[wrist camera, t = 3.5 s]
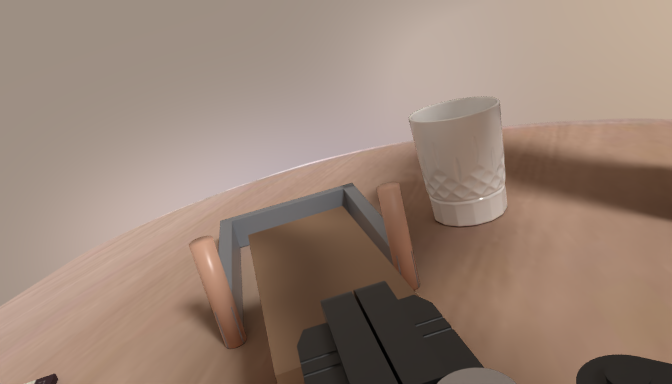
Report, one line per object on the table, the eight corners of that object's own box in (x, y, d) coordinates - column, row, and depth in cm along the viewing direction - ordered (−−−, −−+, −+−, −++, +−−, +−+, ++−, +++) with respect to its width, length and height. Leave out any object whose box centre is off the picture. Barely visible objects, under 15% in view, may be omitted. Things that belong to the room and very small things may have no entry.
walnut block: (372, 328, 34) (342, 205, 31) (473, 502, 21) (437, 318, 18) (287, 358, 33) (247, 235, 30) (336, 560, 20) (275, 375, 17)
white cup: (444, 238, 44) (424, 127, 41) (417, 209, 51) (398, 113, 48) (530, 214, 44) (516, 102, 41) (490, 189, 52) (476, 92, 49)
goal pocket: (359, 207, 55) (343, 137, 53) (422, 287, 37) (402, 186, 35) (227, 247, 54) (203, 176, 51) (224, 351, 35) (187, 249, 33)
